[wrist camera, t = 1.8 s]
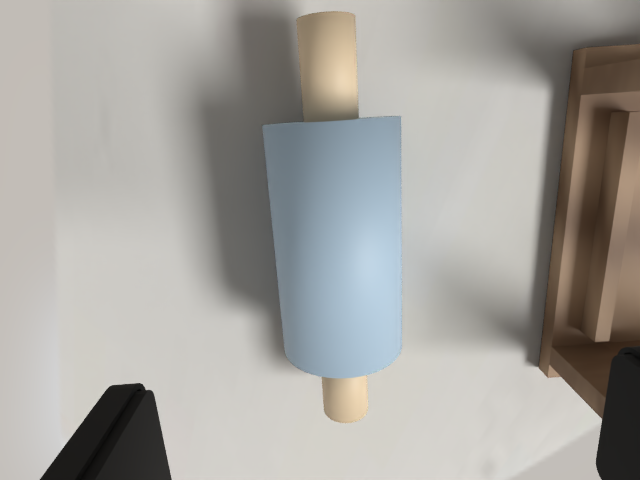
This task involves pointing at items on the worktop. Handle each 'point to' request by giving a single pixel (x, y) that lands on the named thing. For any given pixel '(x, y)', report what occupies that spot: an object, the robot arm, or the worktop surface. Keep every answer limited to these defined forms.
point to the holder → (596, 225)
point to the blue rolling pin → (336, 222)
